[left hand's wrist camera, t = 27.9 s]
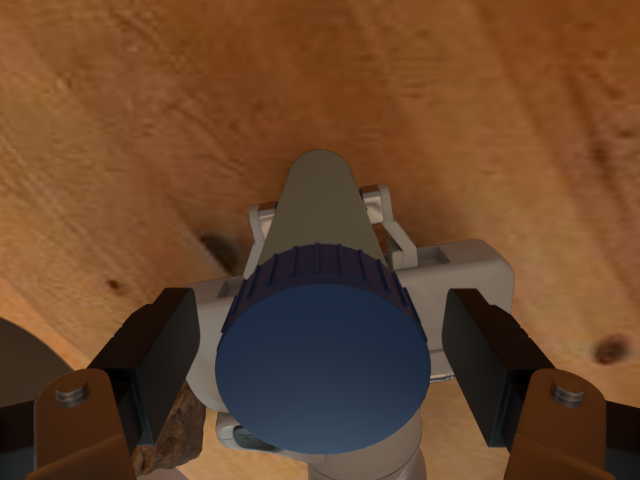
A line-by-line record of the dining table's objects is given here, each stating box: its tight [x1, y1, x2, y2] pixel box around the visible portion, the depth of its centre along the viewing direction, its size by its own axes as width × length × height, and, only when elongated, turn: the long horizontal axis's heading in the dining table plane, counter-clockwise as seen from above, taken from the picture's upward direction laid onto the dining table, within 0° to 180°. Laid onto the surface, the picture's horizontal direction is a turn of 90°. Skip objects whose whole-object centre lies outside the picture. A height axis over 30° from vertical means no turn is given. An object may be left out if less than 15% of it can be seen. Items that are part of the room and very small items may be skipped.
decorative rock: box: [131, 379, 206, 477], centre depth 28 cm, size 12×6×11 cm, turn 175°
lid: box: [215, 242, 431, 455], centre depth 10 cm, size 5×5×2 cm
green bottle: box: [256, 150, 388, 268], centre depth 19 cm, size 5×5×19 cm
